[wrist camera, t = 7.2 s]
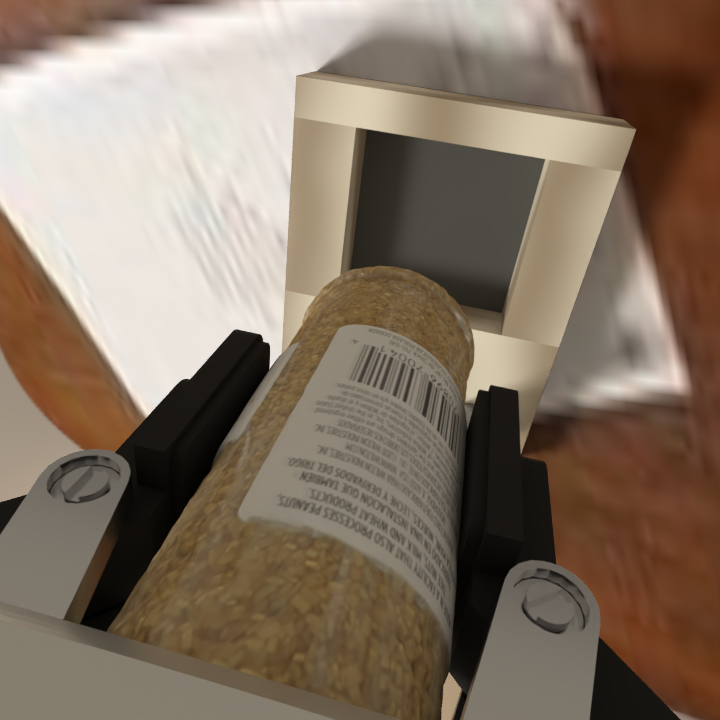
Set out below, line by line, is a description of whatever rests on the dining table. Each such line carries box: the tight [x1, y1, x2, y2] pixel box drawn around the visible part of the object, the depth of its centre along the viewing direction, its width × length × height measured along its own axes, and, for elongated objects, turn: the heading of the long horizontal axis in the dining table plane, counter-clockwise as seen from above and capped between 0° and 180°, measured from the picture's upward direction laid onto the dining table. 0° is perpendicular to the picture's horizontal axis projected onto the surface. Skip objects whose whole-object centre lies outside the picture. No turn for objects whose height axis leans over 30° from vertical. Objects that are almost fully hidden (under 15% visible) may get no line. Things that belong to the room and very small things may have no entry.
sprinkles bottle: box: [107, 266, 475, 720], centre depth 9 cm, size 5×5×13 cm
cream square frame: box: [282, 71, 636, 452], centre depth 24 cm, size 12×17×6 cm
